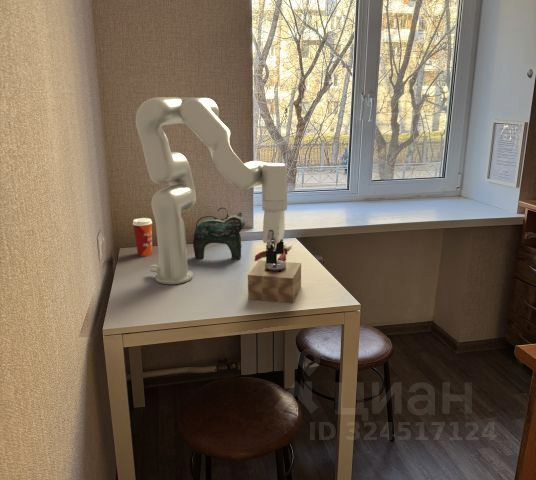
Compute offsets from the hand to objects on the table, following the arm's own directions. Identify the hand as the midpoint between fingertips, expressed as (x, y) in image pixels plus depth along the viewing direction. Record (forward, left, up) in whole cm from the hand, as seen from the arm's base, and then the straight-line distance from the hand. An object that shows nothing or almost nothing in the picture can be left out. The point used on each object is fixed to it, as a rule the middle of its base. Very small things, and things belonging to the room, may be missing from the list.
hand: (275, 258), depth 153 cm
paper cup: (-60, +28, -12) cm, 67 cm away
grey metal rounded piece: (0, +1, -10) cm, 11 cm away
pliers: (-6, +37, -12) cm, 39 cm away
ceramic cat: (-29, +29, -12) cm, 43 cm away
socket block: (0, 0, -12) cm, 12 cm away
